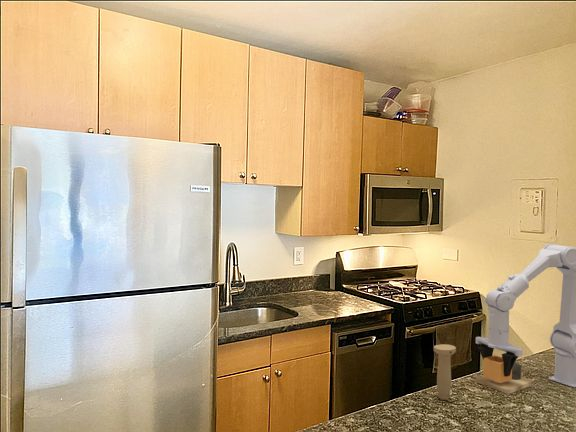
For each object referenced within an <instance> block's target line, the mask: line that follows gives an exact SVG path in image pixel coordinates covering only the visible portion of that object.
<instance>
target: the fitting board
mask: <svg viewBox="0 0 576 432" xmlns="http://www.w3.org/2000/svg"><path fill="white" fill-rule="evenodd" d="M474 381H475V382H476V383H479V384H481V385H484V386H486V387H489V388H491V389H494V390H495V391H499V392H501V393H504V394H507V395H509V394H512V393H514V392H515V393H516V392H518V391H520V390H524V389H526V388H529V387H531V386H534V385H535V380H534V379H532V378H531V379H530V378H529V377H528V378H527V377H524V376H522V364H520V363H518V362H515V363H514V365H513V367H512V380H509V381H506V382H503V383H498V382H495V381H493V380H490V379H487V378H485V377H483V375H480V376H477V377H475V380H474Z"/></svg>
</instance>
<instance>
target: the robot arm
mask: <svg viewBox="0 0 576 432" xmlns="http://www.w3.org/2000/svg"><path fill="white" fill-rule="evenodd" d="M548 268H556V269H558V271H559V272H561V273H562V283H561V284H562V285H561V295H560V297H561V298H560V299H561V300H560V310H559V322H557V323H555V324H554V325H553V326H552V327H553V329H552V332H551V334H550V337H549V343H550V344H551V346H552V347H553V351H554V375H552V376H549V377H548V379H549V380H550V381H553V382H557V383H560V384H563V385H565V386H567V387H568V386H569V387H572V388H576V247H575V246H573V245H572V246H571V245H570V246H567V245H560V244H559V245H558V244H554V243H548V244H545V246H544V247H543V248H541V249H540V250H539V251H538V254H537V256H536V257H535V258H534V259H533V260H532V261H531V263H529V264H527V266H526V267H525V268H524V269H523V270H522V271H521V272H520V273H514V274H510V275H509V276H508V277H507V279H506V280H505V281H504V282H503V283H502V284H501V285H498V286H497V287H496V289H491V290H489V292H488V293H487V294H486V296H485V297H484V302H485V304H486V305H487V310H488V327H487V328H488V329H487V330H488V335H487V337H484V336H483V337H482V336H476V337H475V344H477V345H480V346H478V347H477V349H478V351H479V353H480V355H481V358H482V360H483V362H484V358H486V357H490V356H493V354H494V349H496V350H498V351H501V352H504V353H502V354H501V357H502V358H503V363H504V376H506V377H507V376H510V373H511V370H512V367H513V365H514V363H516V361H517V359H518V358H519V357H521V356H523V349H522V348H519V347H517V346H516V345H512V344H510V343H509V335H510V334H509V333H510V332H509V331H510V329H509V328H510V310H511V309H513V308H514V306H515V302H516V300H517V298H519V296H521V295H522V294H523V293H524V292H525V291H527V290H528V289H529V288H530V282H531V281H532V280H534V279H535V278H536V277H537V276H539V275H540V274H542V273H543V272H544V271H545V270H547V269H548Z"/></svg>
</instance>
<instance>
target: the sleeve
mask: <svg viewBox="0 0 576 432" xmlns="http://www.w3.org/2000/svg"><path fill="white" fill-rule="evenodd" d="M482 373H483V374H482V376H483V377H485V378H487V379H490V380H493V381H495V382H498V383H503V382H506V381H509V380H512V370H511V373H510V376H507V377H506V376H504V363H503V358H502V356H499V355H496V354H494V355H493V354H492V356H490V357H486V358H484V361H483V372H482Z"/></svg>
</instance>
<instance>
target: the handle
mask: <svg viewBox="0 0 576 432" xmlns="http://www.w3.org/2000/svg"><path fill="white" fill-rule="evenodd" d="M433 352H434V353H435V354H437V356H438V358H437V359H438V360H437V361H438V362H437V372H436V373H437V374H436V390H437V398H438V399H440V400H442V401H449V399H450V396H451V389H452V368H451V367H452V366H451V365H452V363H451V359H452V357H451V356H453V355H454V354H455V353H456V352H457V347H456V346H455V345H451V344H444V343H443V344H441V343H440V344H436V345H434V346H433Z"/></svg>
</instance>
